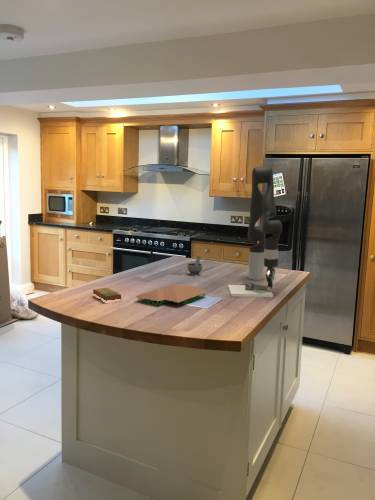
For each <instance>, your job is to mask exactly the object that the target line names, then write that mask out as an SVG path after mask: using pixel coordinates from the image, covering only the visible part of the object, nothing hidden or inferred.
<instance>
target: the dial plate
mask: <svg viewBox="0 0 375 500" xmlns="http://www.w3.org/2000/svg"><path fill="white" fill-rule="evenodd" d="M227 289H228V292H229V293H230V296H231V297H236V298H237V297H238V298H239V297H241V298H242V297H243V298H248V297H249V298H274V294H273V292H272V291H271V290H270V291H262V290H246V289H245V284H227Z"/></svg>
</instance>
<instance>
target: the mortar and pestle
mask: <svg viewBox="0 0 375 500" xmlns="http://www.w3.org/2000/svg"><path fill="white" fill-rule="evenodd" d="M201 258H202V257H201V256H200V255H197V256H196V259H195V262H190V263H186V264H187V270H188V272H189V276H191V275H199V276H200V272H201V271H202V270H203V264H202V263H200V262H201V261H200V260H201Z"/></svg>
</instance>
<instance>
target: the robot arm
mask: <svg viewBox="0 0 375 500" xmlns="http://www.w3.org/2000/svg"><path fill="white" fill-rule="evenodd" d="M251 173H252V174H251V195H250V196H251V197H250V207H249V222H248V230H247V239H248V240H249V241H253V242H258V243H257V244H254V245H251V246H249V253H248V277H247V278H248V279H249V280H252V281H253V280H254V281H261V280H263V279H264V267H266V271H265V278H266V282H267V286H270V287H271V289H270V290H273V282H274V280H275V275H276V269H275V267H278V266H279V241H280V237H281V235H282V230H283V224H282V221H280V220H278V219H273V218H274V217H276V216H277V208H276V203H275V202H276V201H275V189H274V188H275V186H274V185H275V182H274V173H273V168H272V167H271V166H269V165H268V166H265V165H264V166H256V167H253V169H252V172H251ZM259 184H267V188H266V191H265V193H264V194H263V193H262V191H261V190H260V187H259ZM261 218H262V224H261V225H256V223H258V221H260V219H261ZM271 219H272V220H271ZM266 234H267V235H269V234H270V235H271V234H272V236H270V237H266Z"/></svg>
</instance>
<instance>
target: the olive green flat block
mask: <svg viewBox="0 0 375 500" xmlns="http://www.w3.org/2000/svg"><path fill="white" fill-rule="evenodd" d="M92 293H94V294H96V295H97V296H99V297H101V298H103V299H104V300H106V301H107V300H115V299H121V300H122V294H121V293H118V292H117V291H115V290H112V289H111V288H108V287H102V288H101V287H100V288H93V290H92Z"/></svg>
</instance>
